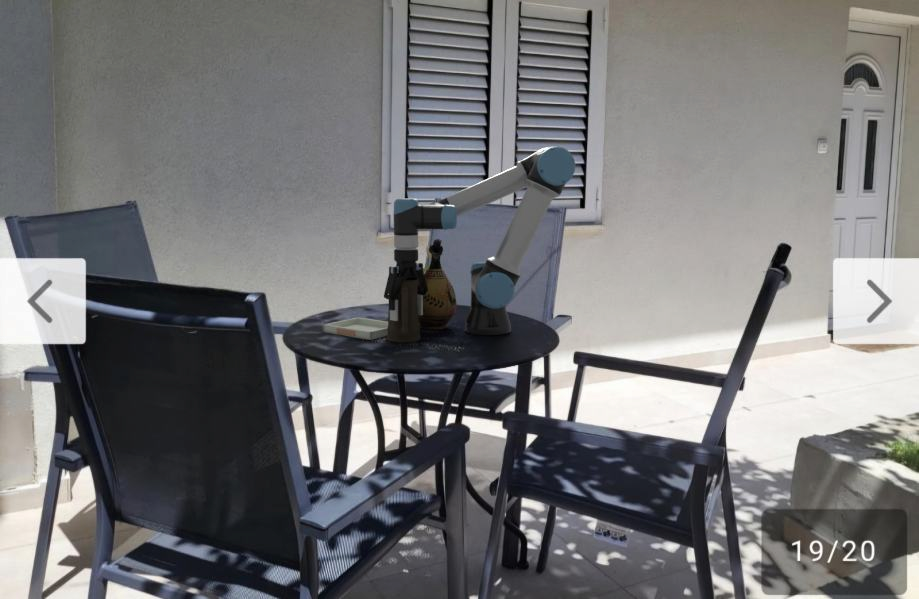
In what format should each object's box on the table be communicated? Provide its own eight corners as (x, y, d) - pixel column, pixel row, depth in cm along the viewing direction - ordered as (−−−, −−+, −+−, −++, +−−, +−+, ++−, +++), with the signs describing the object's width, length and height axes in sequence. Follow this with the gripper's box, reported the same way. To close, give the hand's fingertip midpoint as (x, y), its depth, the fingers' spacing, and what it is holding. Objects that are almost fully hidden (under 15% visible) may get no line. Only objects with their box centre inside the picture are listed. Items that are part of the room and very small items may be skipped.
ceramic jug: (456, 331, 282) (456, 241, 277) (410, 331, 281) (409, 241, 277) (456, 322, 298) (456, 237, 294) (412, 322, 298) (412, 237, 293)
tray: (358, 324, 294) (358, 317, 293) (404, 331, 281) (404, 324, 281) (322, 332, 280) (322, 324, 279) (369, 340, 268) (369, 332, 267)
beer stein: (383, 336, 273) (383, 275, 269) (415, 334, 276) (416, 274, 272) (393, 349, 259) (393, 285, 254) (427, 347, 262) (427, 283, 257)
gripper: (420, 244, 275) (421, 310, 278) (371, 250, 256) (372, 321, 259) (439, 246, 270) (439, 313, 274) (390, 252, 251) (390, 324, 255)
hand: (406, 317), depth 266 cm, fingers closed on beer stein, 11 cm apart
